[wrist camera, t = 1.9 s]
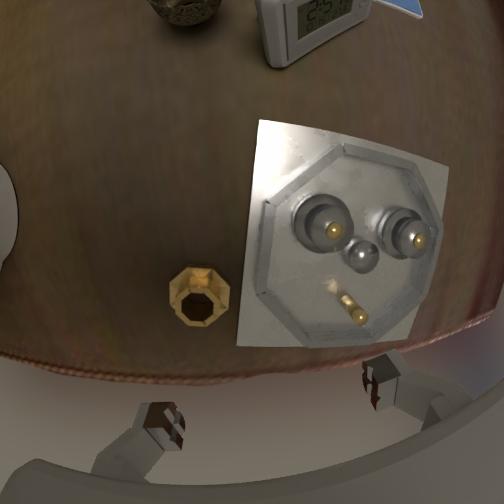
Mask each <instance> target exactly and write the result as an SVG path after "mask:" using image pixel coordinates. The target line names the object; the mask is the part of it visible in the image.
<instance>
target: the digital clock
mask: <svg viewBox="0 0 504 504" xmlns="http://www.w3.org/2000/svg"><path fill="white" fill-rule="evenodd" d="M372 2H373V0H255V4H256V9H257V14H258V15H257V20H258V21H259V24H260V29H261V35H262V40H263V45H264V51H265V56H266V59H267V62H268V63H269V65H270V66H272V67H274V68H276V67H286V66H288V65H289V64H291V63H292V62H294V61H295V60H297V59H298V58H300V57H302V56H303V55H305V54H306V53H308V52H309V51H311V50H313V49H314V48H316V47H317V46H319V45H321V44H322V43H324V42H326V41H327V40H329V39H331V38H332V37H334V36H336V35H338V34H339V33H341V32H343V31H345V30H347V29H348V28H350V27H352V26H354V25H356V24H358V23H360V22H361V21H363V20H365V19H366V18H367V17H368V15H369V12H370V9H371V5H372Z"/></svg>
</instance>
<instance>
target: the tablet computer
mask: <svg viewBox="0 0 504 504" xmlns="http://www.w3.org/2000/svg"><path fill="white" fill-rule="evenodd" d="M373 1H374V2H377V3H380V4H383V5H385V6H388V7H391V8H393V9H396V10H398V11H401V12H403V13H406V14H408V15H410V16H412V17H415V18H417V19H422V18H423V14H422V10H421V7H420V4H419V1H418V0H373Z"/></svg>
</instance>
